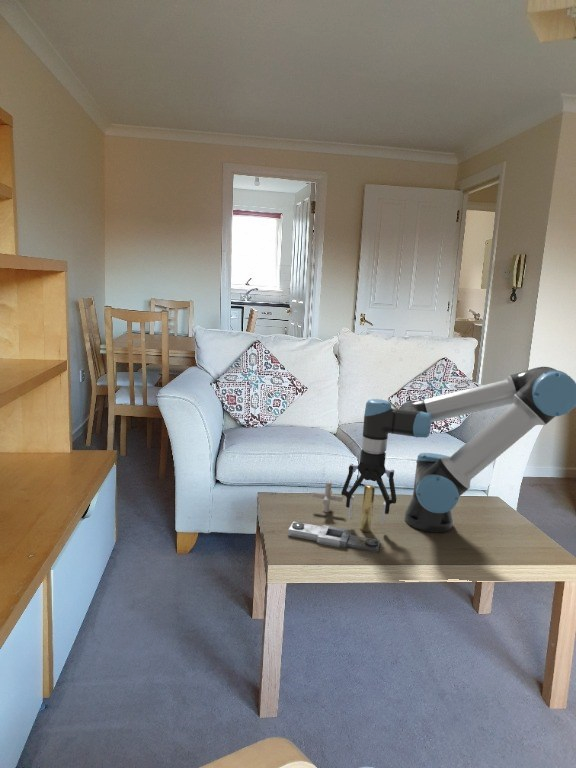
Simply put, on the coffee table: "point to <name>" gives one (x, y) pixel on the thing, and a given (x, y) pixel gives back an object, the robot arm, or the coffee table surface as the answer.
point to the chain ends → (332, 536)
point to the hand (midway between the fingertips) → (366, 520)
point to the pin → (367, 508)
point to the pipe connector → (327, 496)
